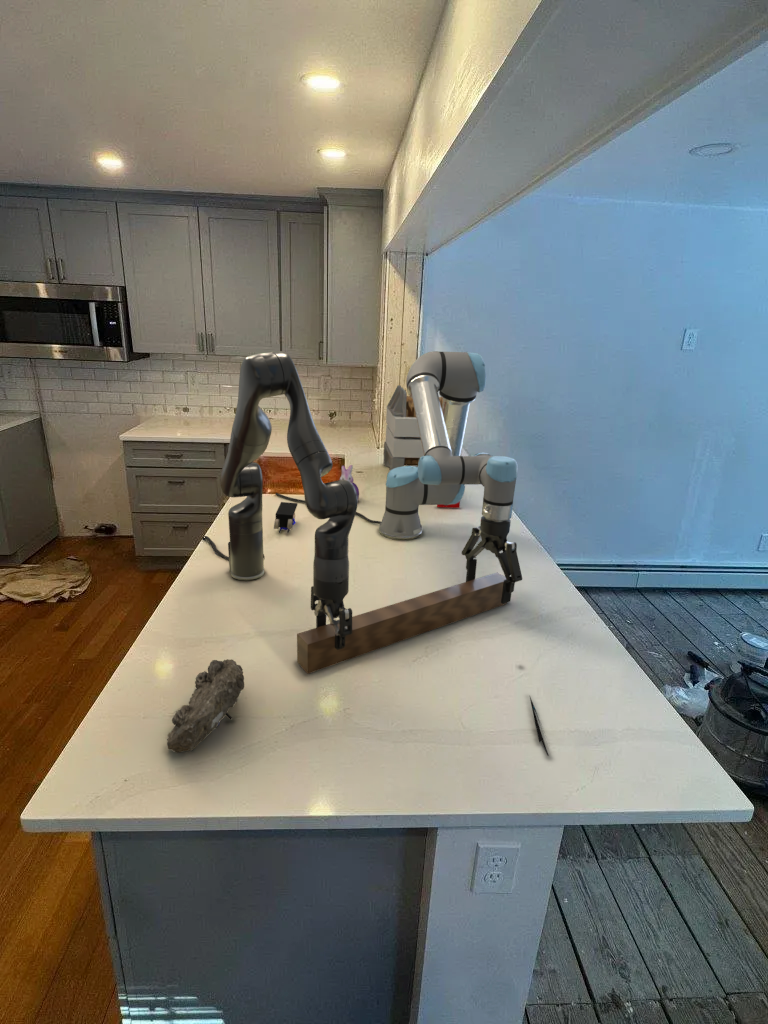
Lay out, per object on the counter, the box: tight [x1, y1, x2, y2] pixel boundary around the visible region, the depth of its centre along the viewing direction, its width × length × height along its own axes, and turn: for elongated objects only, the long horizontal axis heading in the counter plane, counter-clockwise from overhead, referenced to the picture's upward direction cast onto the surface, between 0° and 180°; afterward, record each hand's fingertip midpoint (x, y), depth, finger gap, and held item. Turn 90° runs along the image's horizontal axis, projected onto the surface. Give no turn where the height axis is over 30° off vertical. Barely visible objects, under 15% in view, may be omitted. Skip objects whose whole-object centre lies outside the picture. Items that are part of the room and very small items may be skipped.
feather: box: [529, 696, 549, 756], centre depth 114 cm, size 2×28×2 cm
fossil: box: [166, 658, 245, 754], centre depth 106 cm, size 22×10×15 cm
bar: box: [296, 572, 508, 675], centre depth 139 cm, size 61×5×7 cm, turn 125°
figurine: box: [339, 464, 360, 500], centre depth 228 cm, size 9×10×15 cm
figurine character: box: [273, 501, 298, 534], centre depth 199 cm, size 7×8×15 cm
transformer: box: [383, 384, 463, 471], centre depth 268 cm, size 34×33×41 cm
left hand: (330, 638), depth 126 cm, fingers open, 8 cm apart
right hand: (487, 591), depth 152 cm, fingers open, 13 cm apart
